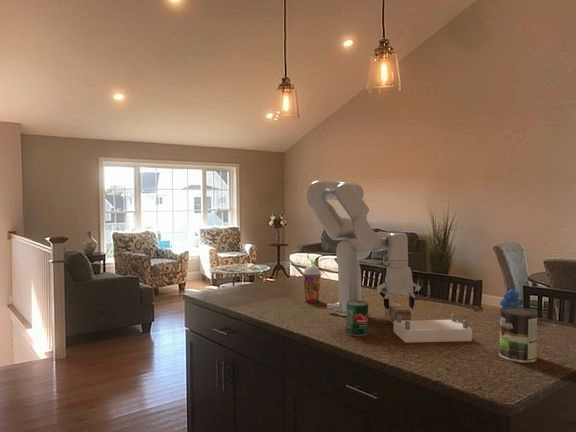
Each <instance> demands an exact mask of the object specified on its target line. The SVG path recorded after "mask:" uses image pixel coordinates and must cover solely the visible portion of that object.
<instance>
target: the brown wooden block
mask: <svg viewBox="0 0 576 432" xmlns="http://www.w3.org/2000/svg"><path fill="white" fill-rule="evenodd" d="M397 315H401V321H404V320H412V312H411V311H410V309H407V308H406V307H405V306H403V305H401V304H399V303H398V302H389V309H386V308H385V307H384V318H386V319H387V320H388V321H389V322H390V323H392V324H393V325H394V321H397Z"/></svg>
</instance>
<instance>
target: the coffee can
mask: <svg viewBox="0 0 576 432" xmlns="http://www.w3.org/2000/svg"><path fill="white" fill-rule="evenodd" d="M500 308H501V307H500ZM500 308H499V309H500ZM499 314H500V315H499V353H498V355H499V356H500V358H503V359H504V360H507V361H511V362H514V363H515V362H516V363H523V364H524V363H527V364H528V363H534V362H537V348H538V347H537V346H538V345H537V343H538V338H537V337H538V336H537V335H538V315H539V314H538V312H537V311H536V310H533V309H529V308H524V307H518V306H517V307H505V308H501V309H500V310H499Z"/></svg>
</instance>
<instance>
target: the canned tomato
mask: <svg viewBox="0 0 576 432" xmlns="http://www.w3.org/2000/svg"><path fill="white" fill-rule="evenodd" d="M345 317H346V319H345V320H346V325H345V326H346V327H345V328H346V329H345V330H346V331H345V332H346V334H347V335H349V336H354V337H364V336H367V335H368V334H369V302H368V301H366V300H362V299H361V300H351V301H347V302H346V316H345Z"/></svg>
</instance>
